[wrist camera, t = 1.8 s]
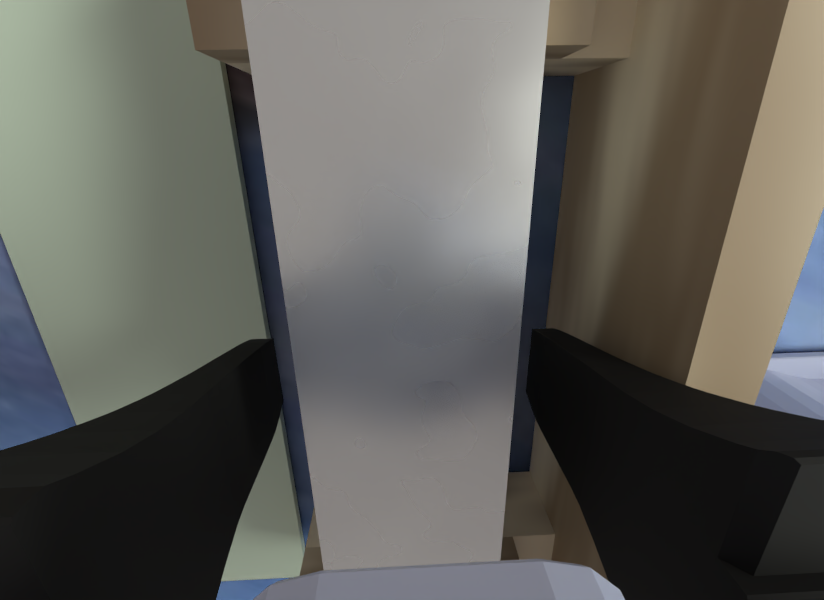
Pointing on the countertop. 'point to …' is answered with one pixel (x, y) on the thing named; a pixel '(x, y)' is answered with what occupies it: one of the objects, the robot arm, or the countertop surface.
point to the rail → (402, 257)
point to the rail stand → (659, 203)
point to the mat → (135, 222)
